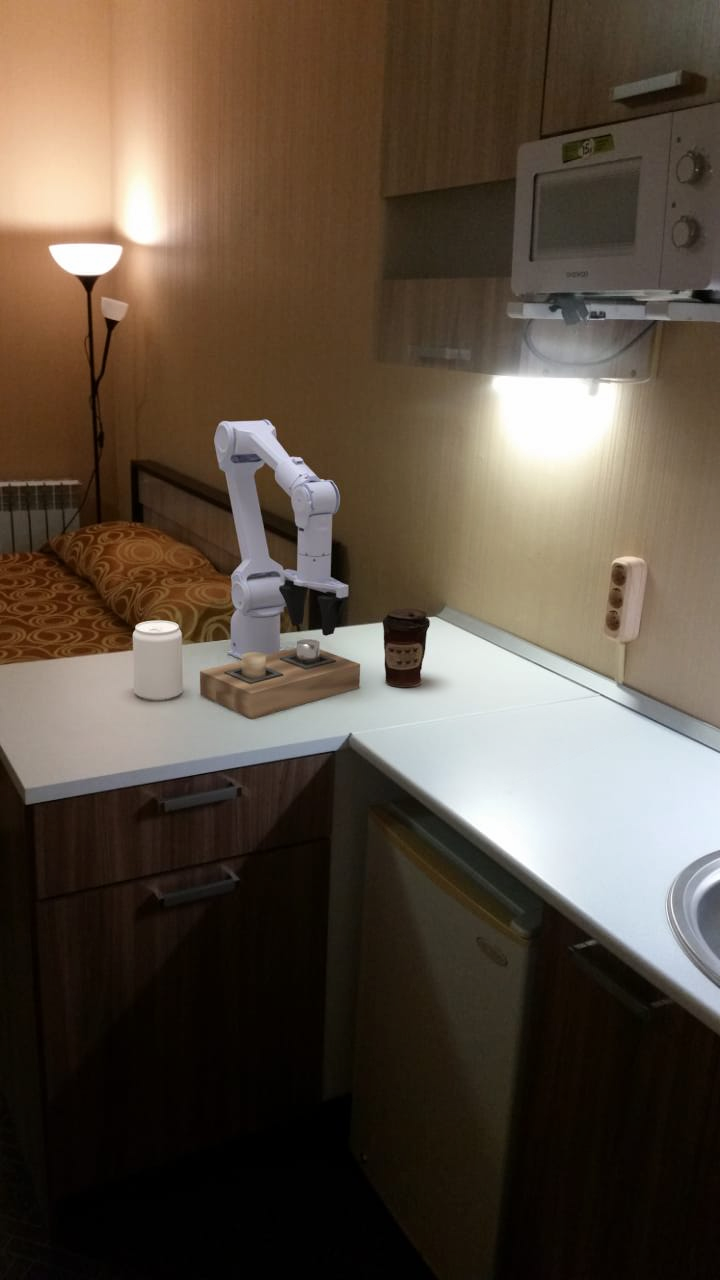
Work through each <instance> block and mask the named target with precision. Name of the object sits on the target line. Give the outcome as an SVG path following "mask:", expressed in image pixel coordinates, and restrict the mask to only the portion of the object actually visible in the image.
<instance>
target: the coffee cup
mask: <svg viewBox="0 0 720 1280" xmlns="http://www.w3.org/2000/svg"><path fill="white" fill-rule="evenodd" d="M430 624H431V621H430V619H429V618H428V617H427V612H426V611H423V610H420V609H417V608H415V609H414V608H403V609H402V608H401V609H400V608H397V609H394V610H389V611H387V612H386V615H385V617H384V618H383V619H382V627H383V651H384V671H385V683H386V684H388V685H390V686H393V687H398V688H399V687H400V688H409V687H411V688H412V687H416V686H419V685H421V684H422V677H421V676H422V675H421V672H422V670H423V669H422V668H423V661H424V657H425V654H426V644H427V635H428V633H427V632H428V629H429V628H430V626H431V625H430Z"/></svg>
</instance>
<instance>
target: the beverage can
mask: <svg viewBox="0 0 720 1280" xmlns="http://www.w3.org/2000/svg"><path fill="white" fill-rule="evenodd" d="M134 628H135V630H134V631H133V633H132V653H133V655H132V656H133V658H132V661H133V662H132V663H133V687H134V688H133V689H134V694H135V695H137V696H139V697H140V698H142V697H143V699H145V700H149V701H165V699H167V700H170V699H169V698H171V699H173V698H175V697H177V696H179V695H180V694H182V692H183V691H184V690H183V689H184V687H183V686H184V682H183V681H184V680H183V679H184V678H183V677H184V674H183V633H182V631H181V629H180V627H179V624H178V623H176V622H174V621H170V620H147V621H142V622H140V623H137V624H136V625H135V627H134ZM172 697H173V698H172Z"/></svg>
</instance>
